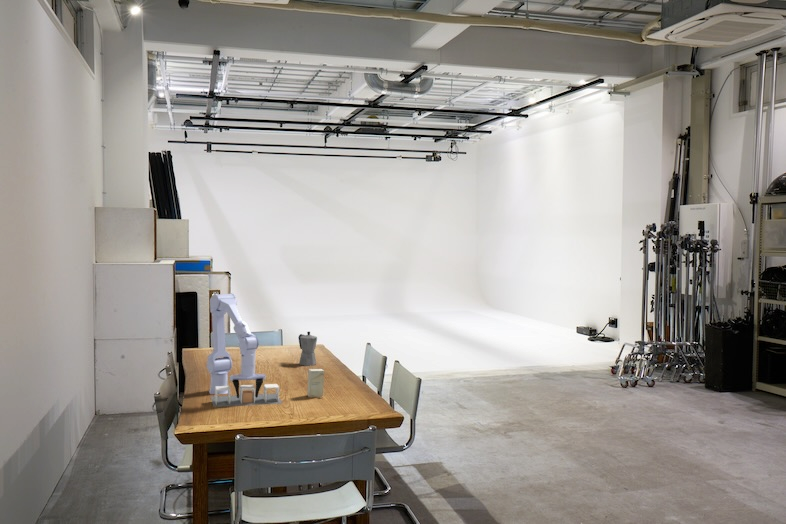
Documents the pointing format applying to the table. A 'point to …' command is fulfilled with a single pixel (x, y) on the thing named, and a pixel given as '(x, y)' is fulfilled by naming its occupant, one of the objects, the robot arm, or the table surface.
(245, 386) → the white u-channel shell
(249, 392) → the cube
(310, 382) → the skincare box
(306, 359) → the coffeepot
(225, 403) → the mat
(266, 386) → the arch right
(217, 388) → the arch left
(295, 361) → the table surface
